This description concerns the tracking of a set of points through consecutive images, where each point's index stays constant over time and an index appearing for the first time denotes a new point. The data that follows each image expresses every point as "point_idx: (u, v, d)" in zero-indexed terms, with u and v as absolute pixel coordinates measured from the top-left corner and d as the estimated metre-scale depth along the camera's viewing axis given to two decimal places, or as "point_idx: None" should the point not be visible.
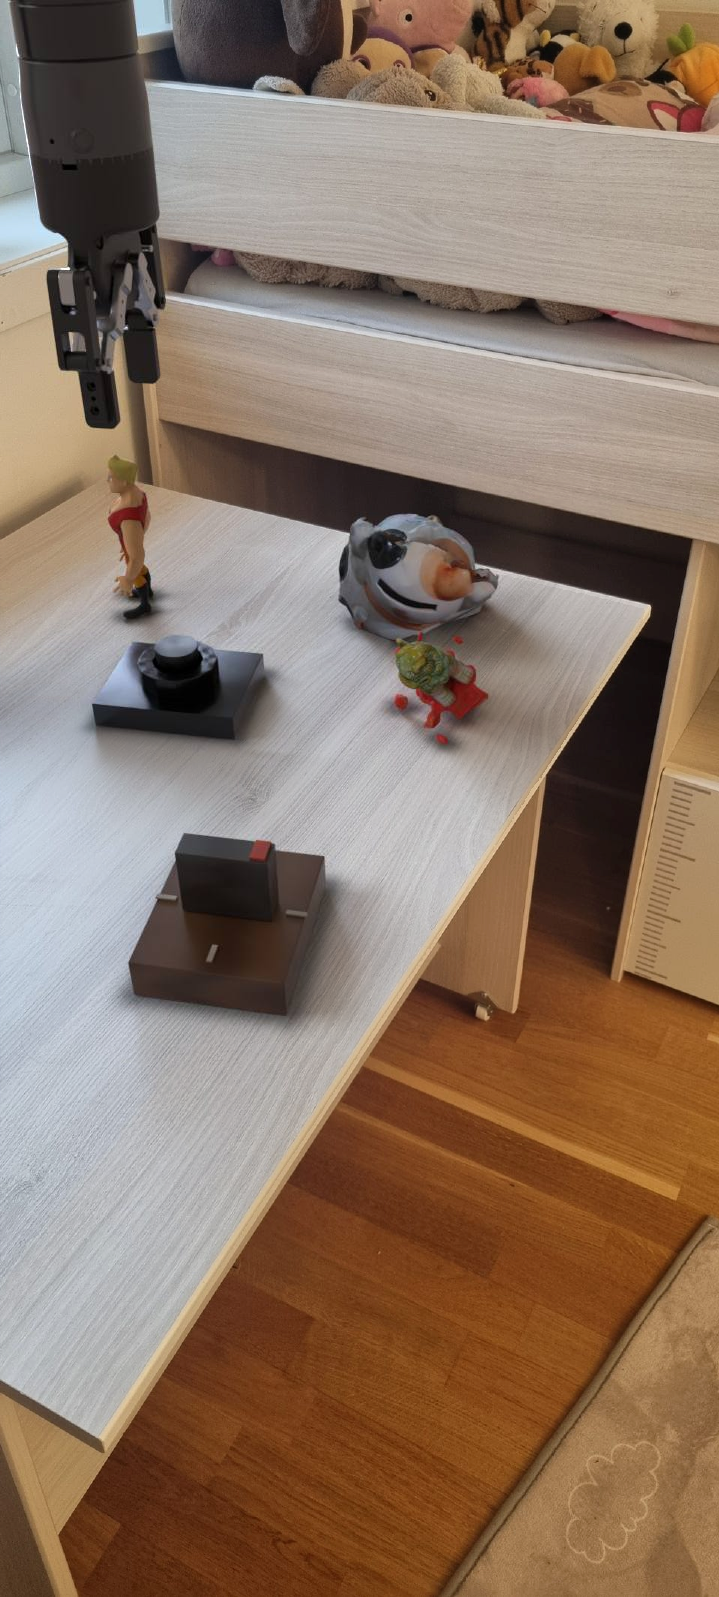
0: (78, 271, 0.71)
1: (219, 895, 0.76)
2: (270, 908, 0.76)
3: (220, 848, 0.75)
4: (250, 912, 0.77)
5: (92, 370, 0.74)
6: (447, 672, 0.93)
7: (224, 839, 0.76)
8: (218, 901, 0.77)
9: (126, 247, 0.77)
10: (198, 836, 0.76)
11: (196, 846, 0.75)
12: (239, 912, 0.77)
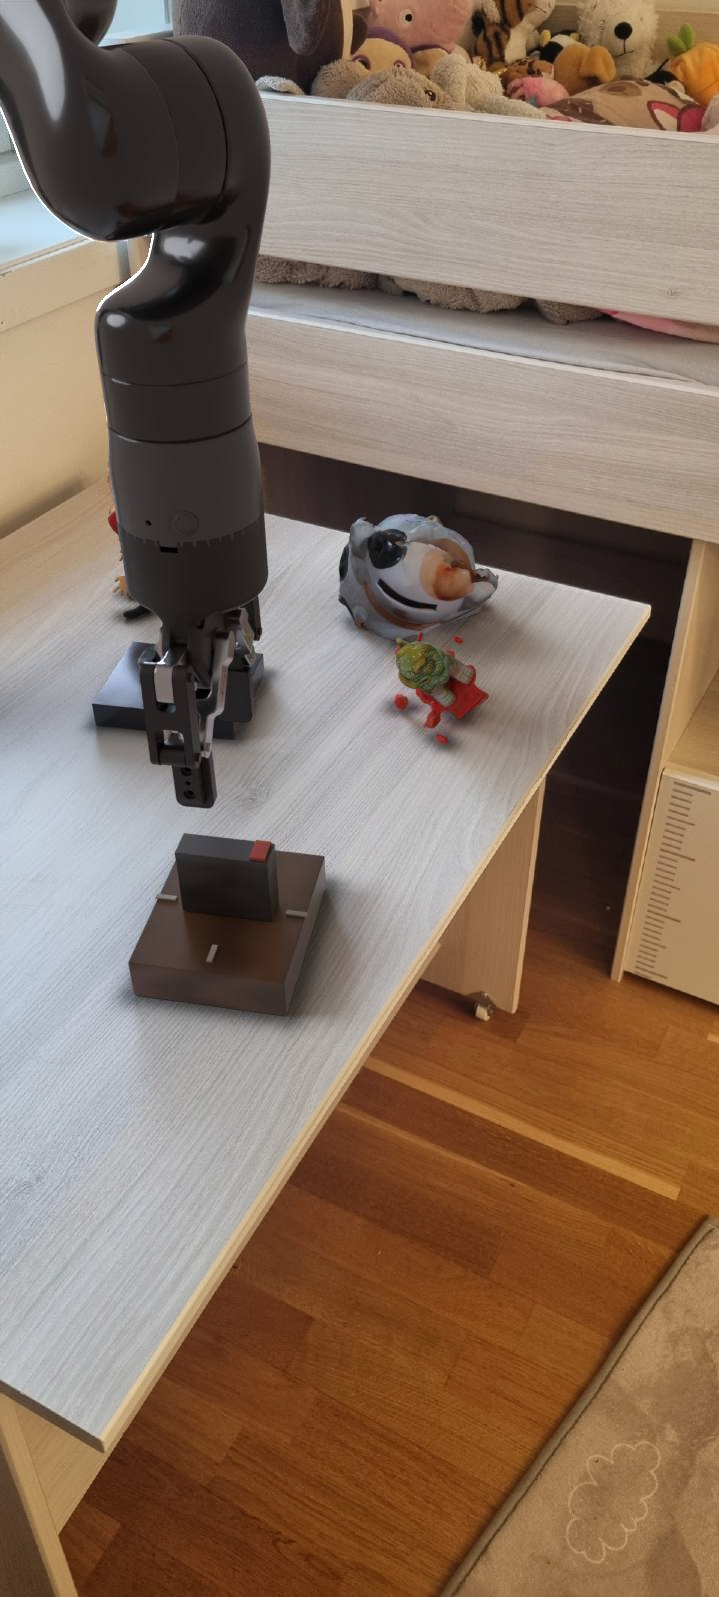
0: (178, 668, 0.59)
1: (219, 895, 0.76)
2: (270, 908, 0.76)
3: (220, 848, 0.75)
4: (250, 912, 0.77)
5: (191, 768, 0.62)
6: (447, 672, 0.93)
7: (224, 839, 0.76)
8: (218, 901, 0.77)
9: None
10: (198, 836, 0.76)
11: (196, 846, 0.75)
12: (239, 912, 0.77)
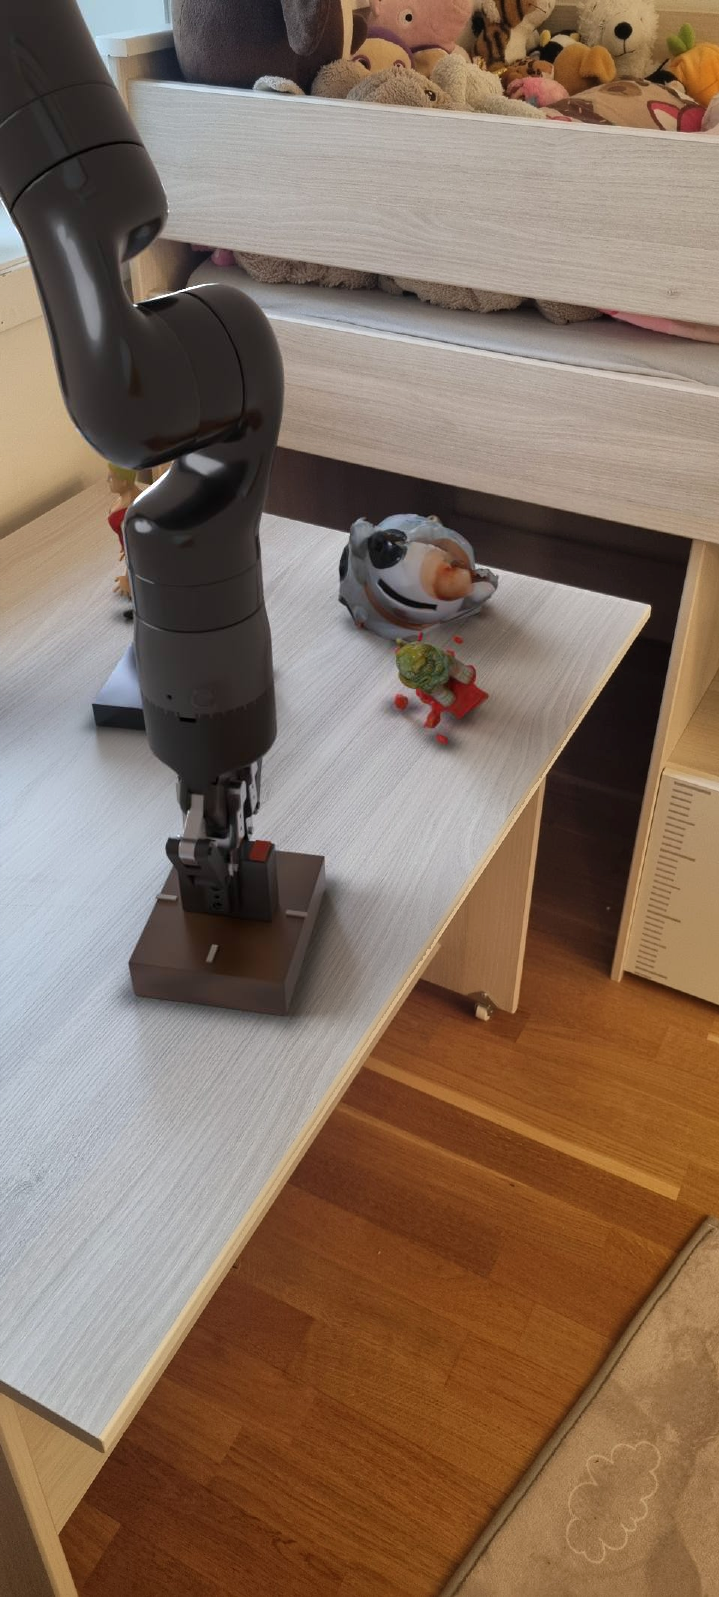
0: (199, 849, 0.67)
1: None
2: (270, 908, 0.76)
3: (220, 848, 0.75)
4: (250, 912, 0.77)
5: None
6: (447, 672, 0.93)
7: None
8: None
9: None
10: None
11: None
12: (239, 912, 0.77)
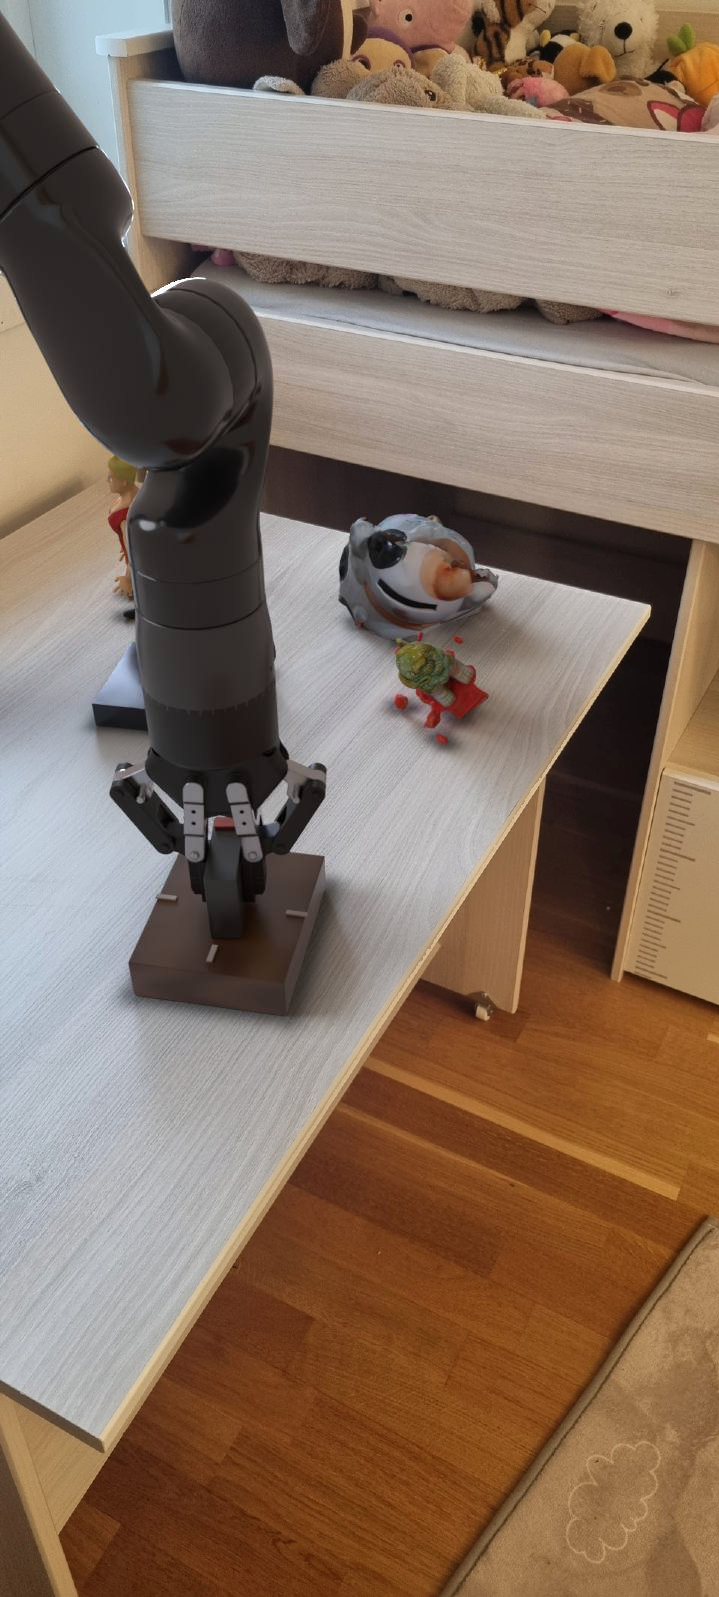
0: (323, 769, 0.72)
1: None
2: None
3: (226, 850, 0.75)
4: None
5: None
6: (447, 672, 0.93)
7: (211, 850, 0.75)
8: None
9: None
10: (209, 868, 0.73)
11: (224, 867, 0.74)
12: None
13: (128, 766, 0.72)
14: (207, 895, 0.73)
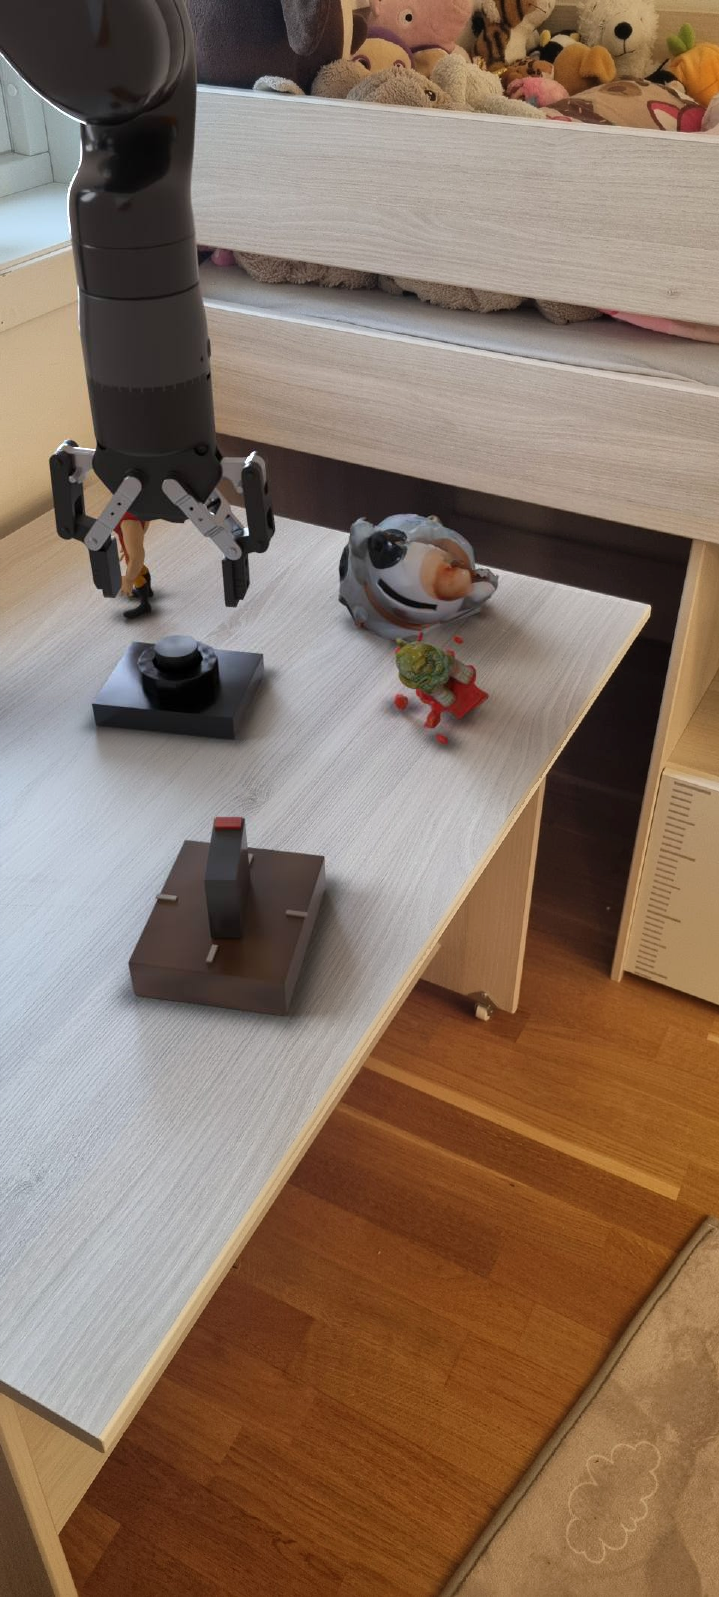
0: (258, 454, 0.76)
1: (243, 888, 0.77)
2: (248, 862, 0.80)
3: (226, 850, 0.75)
4: (247, 882, 0.79)
5: None
6: (447, 672, 0.93)
7: (211, 850, 0.75)
8: (244, 896, 0.77)
9: None
10: (209, 868, 0.73)
11: (224, 867, 0.74)
12: (246, 891, 0.78)
13: (75, 446, 0.77)
14: (207, 895, 0.73)
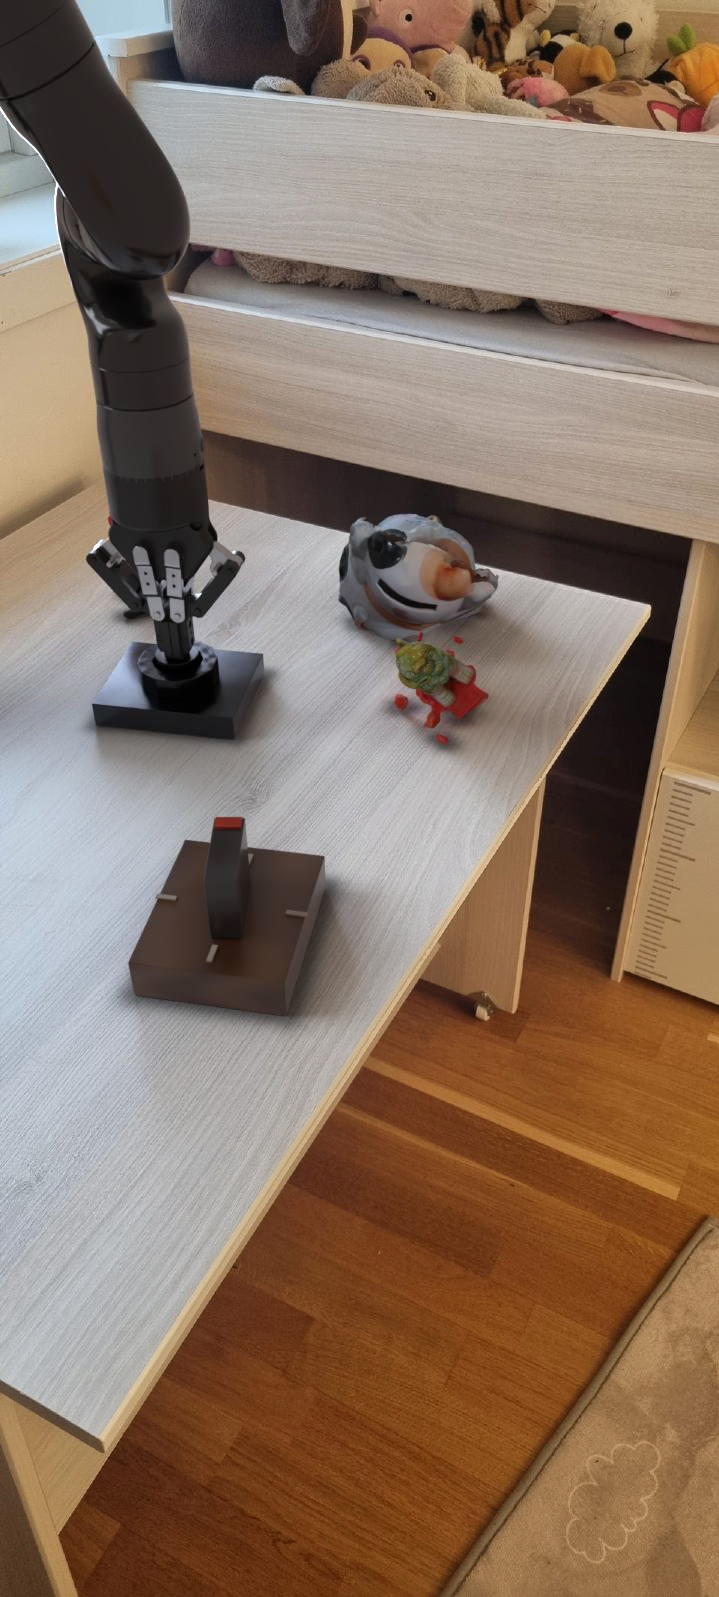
0: (241, 556, 0.93)
1: (243, 888, 0.77)
2: (248, 862, 0.80)
3: (226, 850, 0.75)
4: (247, 882, 0.79)
5: None
6: (447, 672, 0.93)
7: (211, 850, 0.75)
8: (244, 896, 0.77)
9: None
10: (209, 868, 0.73)
11: (224, 867, 0.74)
12: (246, 891, 0.78)
13: (103, 542, 0.95)
14: (207, 895, 0.73)
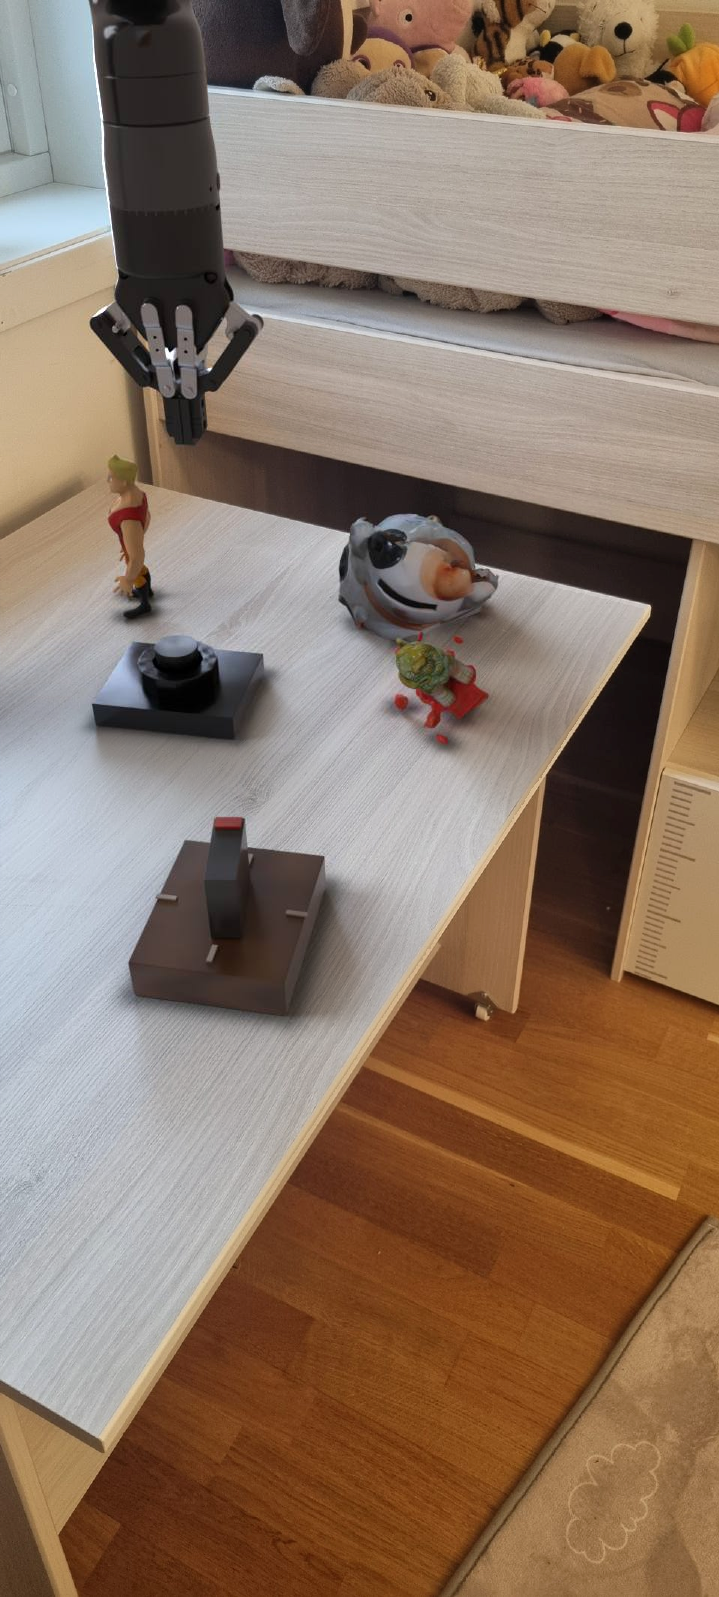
0: (260, 319, 0.85)
1: (243, 888, 0.77)
2: (248, 862, 0.80)
3: (226, 850, 0.75)
4: (247, 882, 0.79)
5: None
6: (447, 672, 0.93)
7: (211, 850, 0.75)
8: (244, 896, 0.77)
9: None
10: (209, 868, 0.73)
11: (224, 867, 0.74)
12: (246, 891, 0.78)
13: None
14: (207, 895, 0.73)
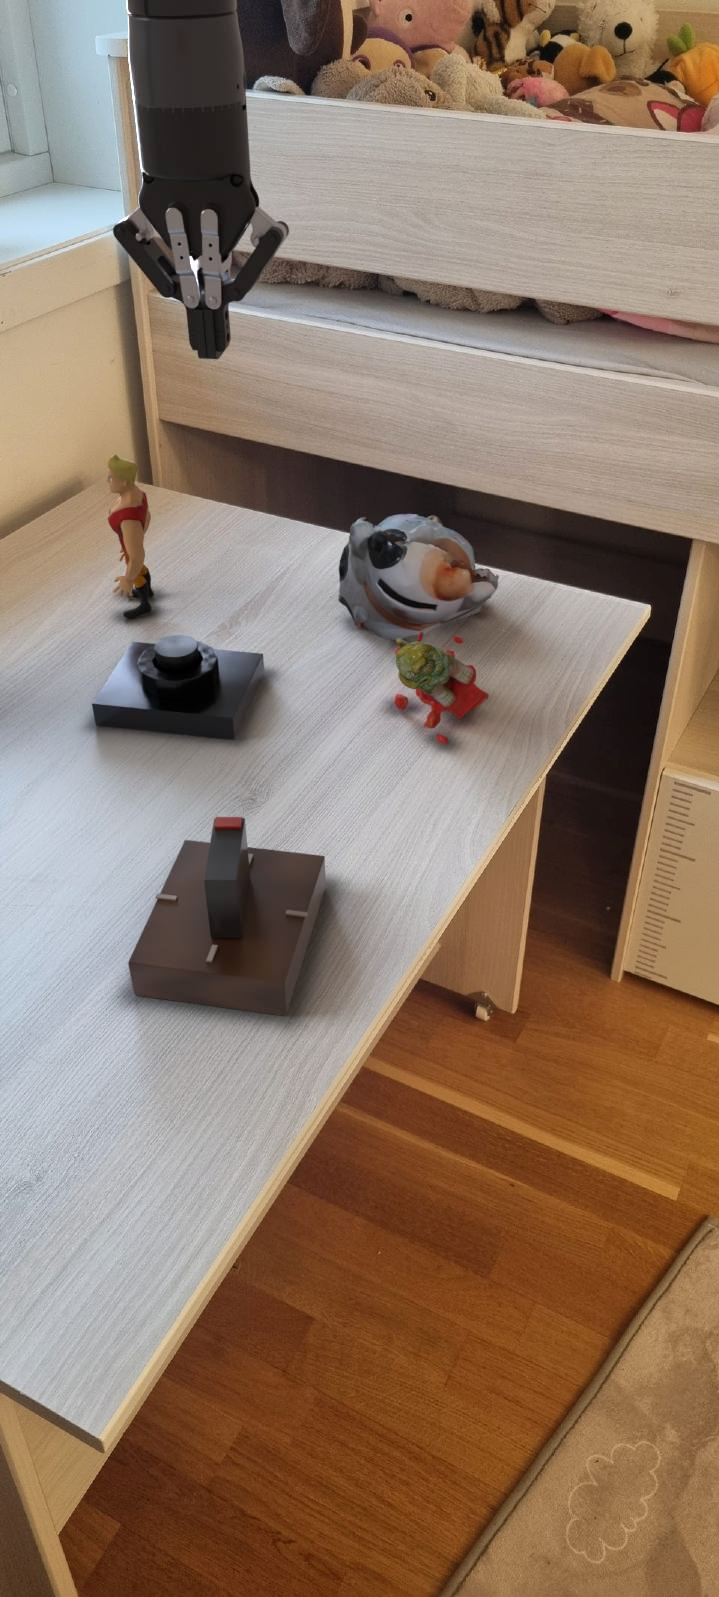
0: (285, 226, 0.85)
1: (243, 888, 0.77)
2: (248, 862, 0.80)
3: (226, 850, 0.75)
4: (247, 882, 0.79)
5: None
6: (447, 672, 0.93)
7: (211, 850, 0.75)
8: (244, 896, 0.77)
9: None
10: (209, 868, 0.73)
11: (224, 867, 0.74)
12: (246, 891, 0.78)
13: None
14: (207, 895, 0.73)
